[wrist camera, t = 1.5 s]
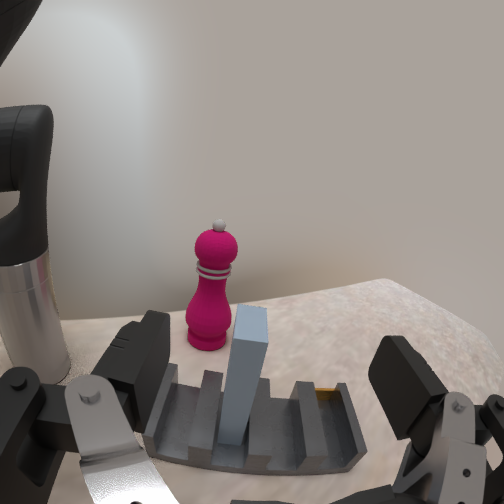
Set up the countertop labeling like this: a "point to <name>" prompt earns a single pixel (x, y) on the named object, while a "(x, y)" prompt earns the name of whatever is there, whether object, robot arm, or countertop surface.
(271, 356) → the countertop surface
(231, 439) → the panel
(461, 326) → the countertop surface
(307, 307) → the countertop surface
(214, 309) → the pepper mill
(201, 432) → the rack
